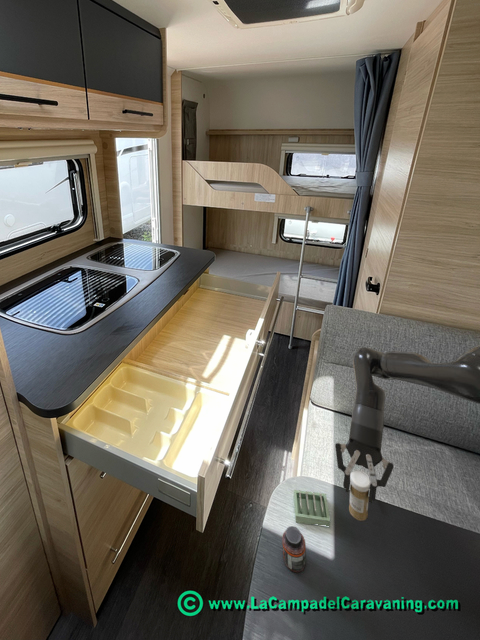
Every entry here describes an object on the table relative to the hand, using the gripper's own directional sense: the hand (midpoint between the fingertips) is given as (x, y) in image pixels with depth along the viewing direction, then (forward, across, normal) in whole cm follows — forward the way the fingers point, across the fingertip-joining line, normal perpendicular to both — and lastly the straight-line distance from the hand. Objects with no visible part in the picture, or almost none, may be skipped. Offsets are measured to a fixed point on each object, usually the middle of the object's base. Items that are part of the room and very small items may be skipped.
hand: (358, 496), depth 82 cm
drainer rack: (+13, -13, +18) cm, 25 cm away
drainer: (+13, -13, +18) cm, 25 cm away
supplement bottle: (+23, -14, +8) cm, 28 cm away
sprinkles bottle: (+5, 0, +8) cm, 9 cm away
